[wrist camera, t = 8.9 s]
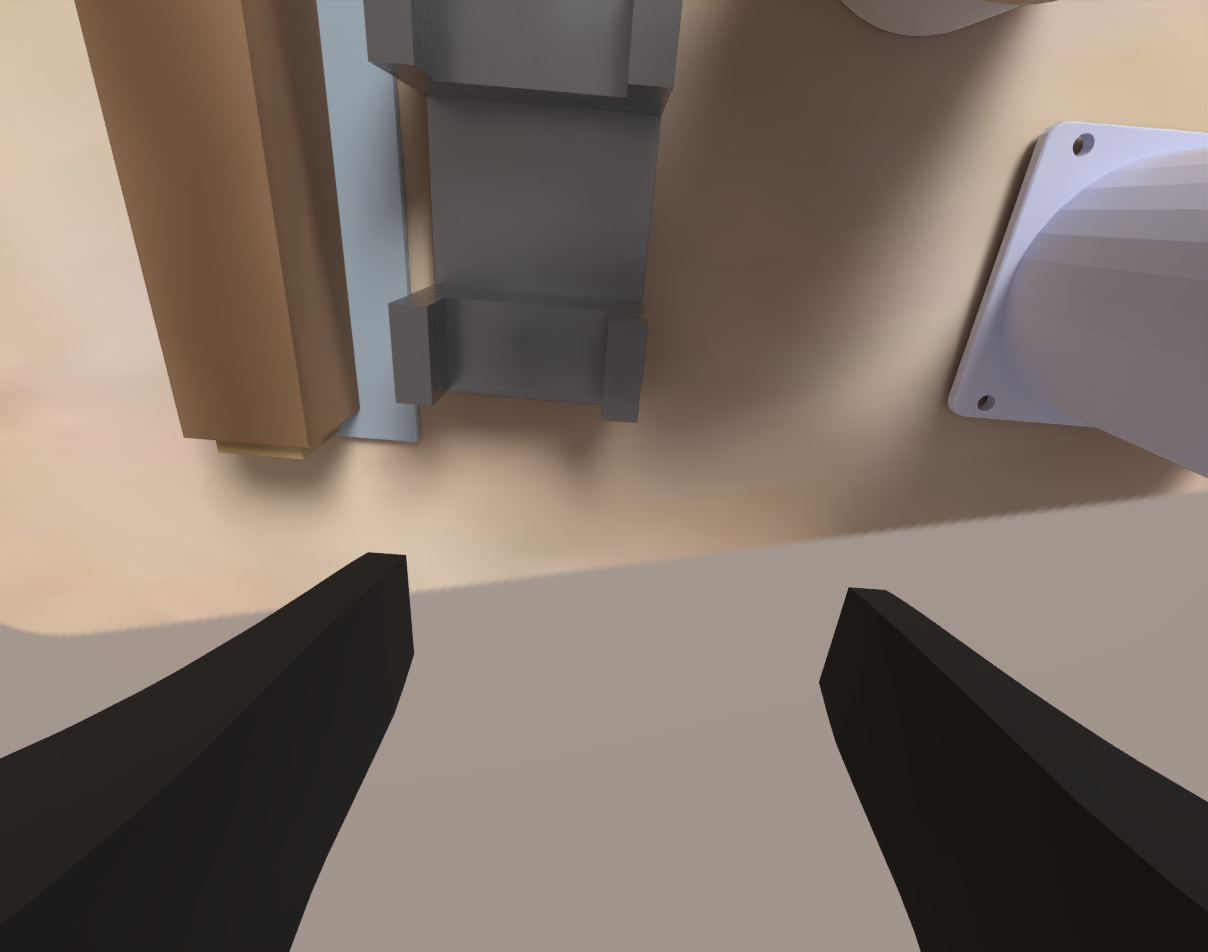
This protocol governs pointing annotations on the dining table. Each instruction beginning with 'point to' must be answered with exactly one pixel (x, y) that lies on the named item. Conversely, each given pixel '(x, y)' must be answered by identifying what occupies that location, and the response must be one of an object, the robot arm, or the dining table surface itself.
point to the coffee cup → (930, 13)
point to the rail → (232, 211)
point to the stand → (531, 193)
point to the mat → (368, 213)
